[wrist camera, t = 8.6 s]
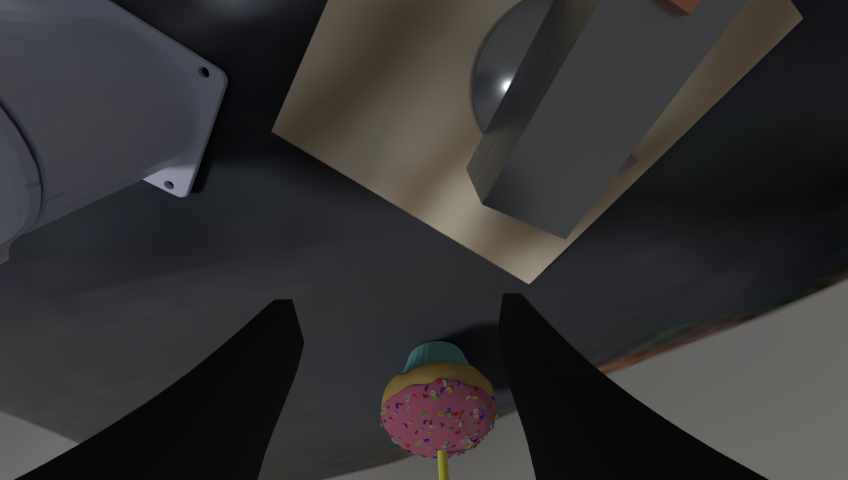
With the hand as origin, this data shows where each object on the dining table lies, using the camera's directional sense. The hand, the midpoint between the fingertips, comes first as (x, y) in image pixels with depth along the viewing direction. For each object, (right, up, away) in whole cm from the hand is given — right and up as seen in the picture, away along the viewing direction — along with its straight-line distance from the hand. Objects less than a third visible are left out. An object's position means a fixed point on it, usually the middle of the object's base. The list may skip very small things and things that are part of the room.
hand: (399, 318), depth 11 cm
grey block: (+6, +9, +1) cm, 11 cm away
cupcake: (+2, -7, +17) cm, 18 cm away
